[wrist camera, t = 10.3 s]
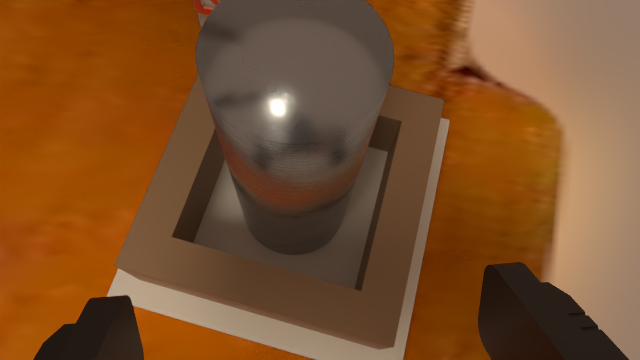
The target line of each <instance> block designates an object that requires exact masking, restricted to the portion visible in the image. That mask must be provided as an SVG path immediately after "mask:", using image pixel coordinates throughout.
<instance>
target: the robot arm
mask: <svg viewBox="0 0 640 360" xmlns="http://www.w3.org/2000/svg"><path fill="white" fill-rule="evenodd" d="M478 327H479V333H480V337H481V340H482V343H483V345H484V347H485V349H486V351H487V352H488V354H489V356H490V358H491V359H492V360H629V359H628V358H627V357H626V356H625V355H624V354H623V353H622V352H621V350H620V349H619V348H618V347H617V346H616V345H615V344H614V343H613V342H612V341H611V340H610V339H609V337H608V336H607V335H606V334H605V333H604V332H603V331H602V330H599V329H598V326H597V324H596V323H595V322H594V321H593V320H592V319H591V318H590V317H589V316H586V315H585V312H584V310H583V309H582V308H581V307H580V306H579V305H578V304H577V303H576V302H575V301H574V300H573V299H572V297H571V296H570V295H568V294H566V293H564V292H563V291H561V290H560V289H558V288H557V287H555V286H553V285H552V284H550V283H548V282H544V283H541V282H540V281H539V280H538V279H537V278H536V277H535V276H534V274H533V273H532V272H531V271H530V270H529V269H528V268H527V266H526V265H525V264H523V263H521V262H517V263H505V264H494V265H488V266H487V267H486V268H485V271H484V277H483V285H482V292H481V300H480V308H479V315H478ZM33 360H144V354H143V347H142V343H141V339H140V335H139V330H138V326H137V322H136V317H135V313H134V309H133V305H132V301H131V299H130V297H129V296H128V295H121V296H109V297H98V298H91V299H89V301H88V302H87V304H86V305H85V307H84V309H83V311H82V313H81V315H80V317H79V319H78V320H77V322H76V323H75V324H64V325H63V326H62V327H61V328H60V329H58V330H57V331H56V332H55V333H54V334H53V335H52V336H51V337H49V338H48V339H47V340H46V341H45V342H44V343H43V344H42V346H41V348H40V349H39V351H38V353H37V354H36V356H35V358H34V359H33Z"/></svg>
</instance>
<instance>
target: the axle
mask: <svg viewBox="0 0 640 360" xmlns="http://www.w3.org/2000/svg"><path fill="white" fill-rule="evenodd" d="M196 64H197V71H198V74H199V78H200V81H201V84H202V87H203V91H204V94H205V97H206V100H207V103H208V106H209V109H210V112H211V115H212V118H213V122H214V125H215V128H216V131H217V134H218V137H219V140H220V143H221V146H222V150H223V153H224V156H225V159H226V162H227V165H228V168H229V171H230V174H231V178H232V181H233V184H234V187H235V190H236V193H237V196H238V199H239V202H240V205H241V209H242V212H243V215H244V218H245V221H246V224H247V226H248V228H249V230H250V232H251V233H252V235H253V236H254V237H255V238H256V240H258V241H259V242H260V243H261V244H262V245H264V246H265V247H266V248H268V249H270V250H272V251H275V252H277V253H281V254H285V255H302V254H307V253H310V252H313V251H315V250H317V249H319V248H321V247H323V246H324V245H325V244H327V243H328V242H329V241H330V240H331V239H332V238H333V237H334V236H335V234H336V233H337V231H338V229H339V227H340V225H341V223H342V220H343V217H344V214H345V211H346V208H347V205H348V203H349V200H350V197H351V194H352V191H353V188H354V185H355V182H356V179H357V177H358V174H359V171H360V168H361V165H362V162H363V159H364V156H365V153H366V151H367V148H368V145H369V142H370V139H371V136H372V133H373V130H374V127H375V125H376V122H377V119H378V116H379V113H380V110H381V107H382V104H383V101H384V99H385V96H386V93H387V90H388V87H389V84H390V81H391V78H392V74H393V68H394V51H393V44H392V41H391V37H390V34H389V32H388V30H387V27H386V25H385V23H384V22H383V20H382V19H381V17H380V16H379V14H378V13H377V12H376V11H375V9H374V8H373V7H372V6H371V5H370V4H369V3H368V2H367V1H366V0H222V1H221V2H220V3H219V4H218V5H217V6H216V7H215V8H214V9H213V10H212V12H211V13H210V14H209V16H208V17H207V19H206V21H205V22H204V24H203V26H202V29H201V31H200V34H199V37H198V42H197V47H196Z"/></svg>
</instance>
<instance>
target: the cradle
mask: <svg viewBox="0 0 640 360" xmlns="http://www.w3.org/2000/svg"><path fill="white" fill-rule="evenodd" d="M443 105H444V99H440V98H436V97H432V96H429V95H425V94H421V93H417V92H413V91H410V90H406V89H402V88H398V87H395V86H391V85H389V87H388V90H387V93H386V96H385V99H384V101H383V104H382V107H381V110H380V113H379V116H378V119H377V122H376V125H375V127H374V130H373V133H372V136H371V139H370V142H369V145H368V148H367V151H366V153H365V156H364V159H363V162H362V165H361V168H360V171H359V174H358V177H357V179H356V182H355V185H354V188H353V191H352V194H351V197H350V200H349V203H348V205H347V208H346V211H345V214H344V217H343V220H342V223H341V225H340V227H339V229H338V231H337V233H336V234H335V236H334V237H333V238H332V239H331V240H330V241H329V242H328V243H327V244H325V245H324V246H323V247H321V248H319V249H317V250H315V251H313V252H310V253H307V254H302V255H285V254H281V253H277V252H275V251H272V250H270V249H268V248H266V247H265V246H264V245H262V244H261V243H260V242H259V241H258V240H256V238H255V237H254V236H253V235H252V233H251V232H250V230H249V228H248V226H247V224H246V221H245V218H244V215H243V212H242V209H241V205H240V202H239V199H238V196H237V193H236V190H235V187H234V184H233V181H232V178H231V174H230V171H229V168H228V165H227V162H226V159H225V156H224V153H223V150H222V146H221V143H220V140H219V137H218V134H217V131H216V128H215V125H214V122H213V118H212V115H211V112H210V109H209V106H208V103H207V100H206V97H205V94H204V91H203V87H202V84H201V81H200V78H199V74H198V75H197V78H196V80H195V82H194V85H193V87H192V89H191V91H190V94H189V96H188V98H187V101H186V103H185V105H184V107H183V110H182V112H181V114H180V117H179V119H178V121H177V123H176V126H175V128H174V130H173V133H172V135H171V137H170V139H169V142H168V144H167V146H166V149H165V151H164V153H163V155H162V158H161V160H160V162H159V165H158V167H157V169H156V171H155V174H154V176H153V178H152V181H151V183H150V185H149V187H148V190H147V192H146V194H145V196H144V199H143V201H142V203H141V206H140V208H139V210H138V212H137V215H136V217H135V219H134V222H133V224H132V226H131V228H130V231H129V233H128V235H127V238H126V240H125V242H124V244H123V247H122V249H121V251H120V254H119V256H118V258H117V260H116V263H115V265H114V266H116V267H117V268H119V269H118V271H117V273H116V276H115V278H114V280H113V283H112V285H111V287H110V290H109V292H108V294H107V296H106V297H109V296H121V295H128V296H129V297H130V299H131V301H132V305H133V306H135V307H138V308H142V309H145V310H148V311H152V312H155V313H159V314H162V315H165V316H169V317H172V318H176V319H179V320H182V321H186V322H189V323H193V324H196V325H199V326H203V327H206V328H210V329H213V330H216V331H220V332H223V333H227V334H230V335H233V336H237V337H240V338H243V339H247V340H250V341H254V342H257V343H260V344H264V345H267V346H271V347H274V348H277V349H281V350H284V351H288V352H291V353H294V354H298V355H301V356H305V357H308V358H311V359H315V360H403V357H404V352H405V346H406V341H407V336H408V331H409V326H410V321H411V316H412V311H413V306H414V301H415V296H416V290H417V285H418V280H419V275H420V270H421V265H422V260H423V255H424V250H425V245H426V240H427V234H428V229H429V224H430V219H431V214H432V209H433V204H434V199H435V194H436V189H437V184H438V178H439V173H440V168H441V163H442V158H443V153H444V148H445V143H446V138H447V133H448V128H449V122H450V120H448V119H444V118H441V115H442V110H443Z"/></svg>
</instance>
